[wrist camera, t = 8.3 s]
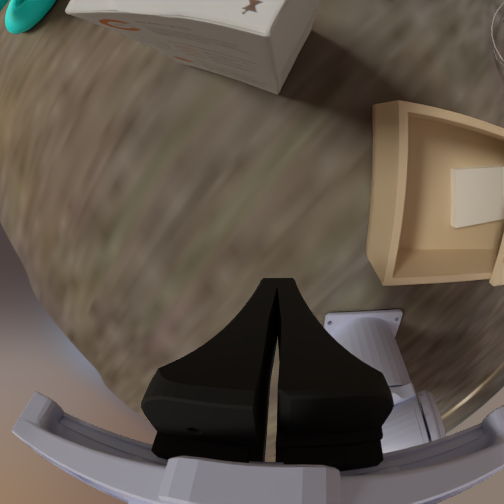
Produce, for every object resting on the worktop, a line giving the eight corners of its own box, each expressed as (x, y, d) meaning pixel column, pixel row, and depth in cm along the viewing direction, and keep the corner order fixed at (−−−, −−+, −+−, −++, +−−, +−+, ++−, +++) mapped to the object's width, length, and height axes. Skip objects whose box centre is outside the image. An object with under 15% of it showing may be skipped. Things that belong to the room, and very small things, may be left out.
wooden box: (504, 251, 19) (530, 274, 15) (365, 253, 21) (382, 285, 17) (521, 142, 14) (553, 152, 9) (371, 104, 16) (398, 100, 12)
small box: (312, 29, 14) (346, -77, 2) (278, 97, 17) (270, 43, 5) (212, -1, 13) (139, -94, 2) (178, 63, 16) (58, 17, 4)
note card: (500, 215, 17) (504, 218, 16) (450, 224, 18) (455, 228, 18) (502, 165, 15) (507, 166, 14) (450, 168, 16) (455, 169, 16)
